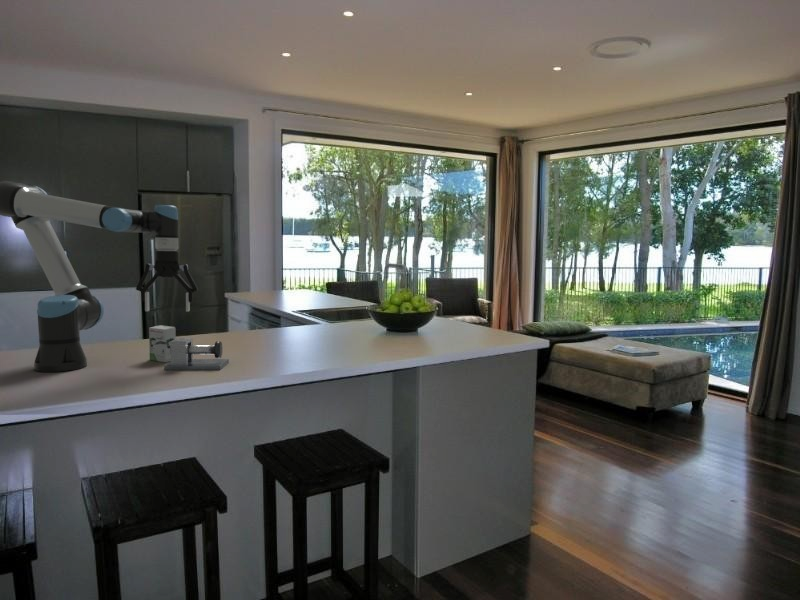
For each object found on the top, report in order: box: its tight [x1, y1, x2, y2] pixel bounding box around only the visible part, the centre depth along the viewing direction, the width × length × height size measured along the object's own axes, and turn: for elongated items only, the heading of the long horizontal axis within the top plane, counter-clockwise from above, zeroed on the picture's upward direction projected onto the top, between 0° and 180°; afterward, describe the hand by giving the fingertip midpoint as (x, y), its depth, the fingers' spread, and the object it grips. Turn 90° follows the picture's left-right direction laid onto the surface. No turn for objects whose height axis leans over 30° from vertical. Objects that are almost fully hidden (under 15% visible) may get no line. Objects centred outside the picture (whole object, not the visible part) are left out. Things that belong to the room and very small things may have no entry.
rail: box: [163, 337, 230, 371], centre depth 201 cm, size 18×12×9 cm, turn 93°
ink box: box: [148, 324, 177, 363], centre depth 211 cm, size 9×5×12 cm, turn 60°
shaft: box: [170, 340, 223, 359], centre depth 201 cm, size 16×6×6 cm, turn 93°
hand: (167, 311), depth 210 cm, fingers open, 13 cm apart
